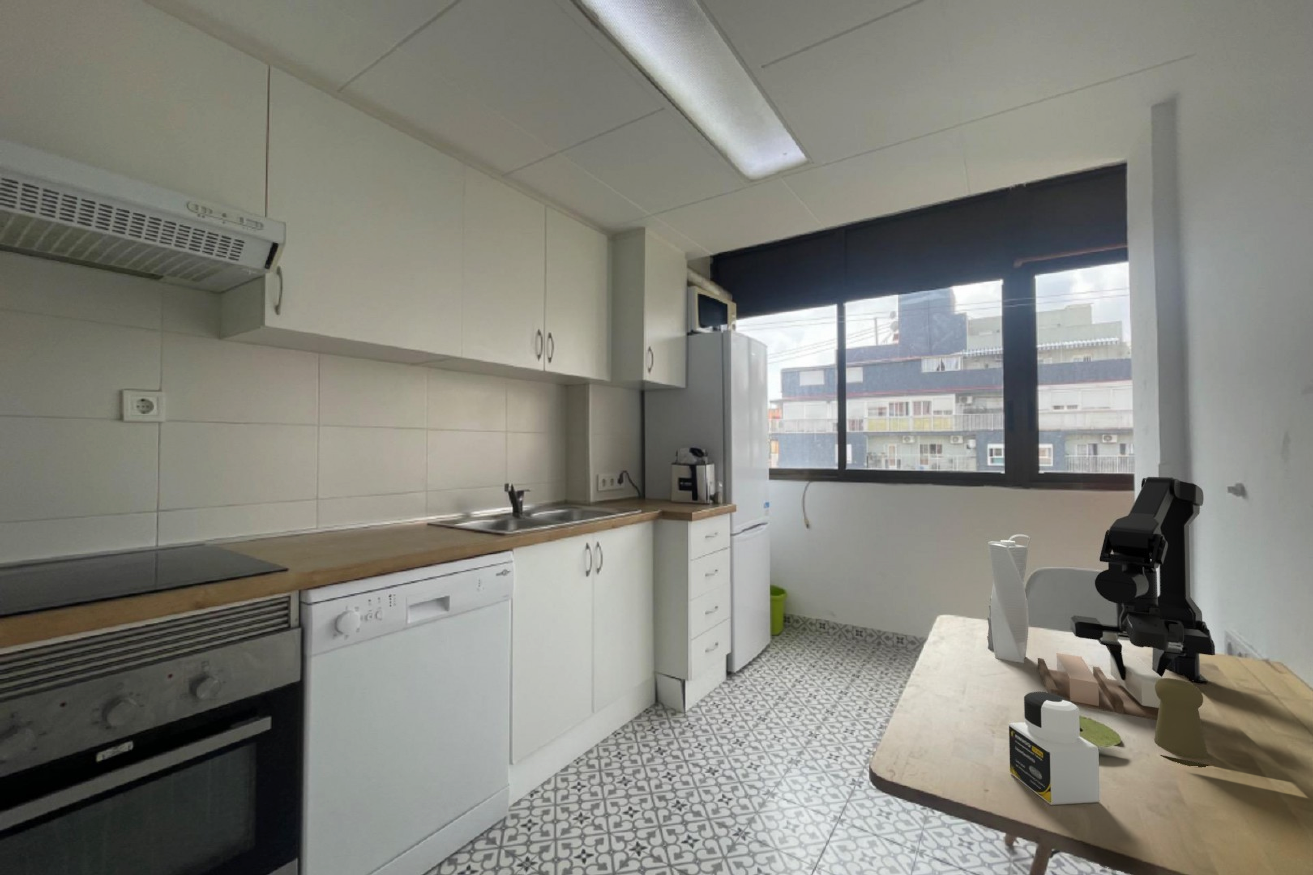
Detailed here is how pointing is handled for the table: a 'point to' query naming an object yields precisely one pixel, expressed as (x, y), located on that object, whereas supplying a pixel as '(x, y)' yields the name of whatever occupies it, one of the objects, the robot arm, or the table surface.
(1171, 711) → the cork
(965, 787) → the table surface
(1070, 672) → the light brown wooden block
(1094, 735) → the mat
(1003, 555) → the skyscraper
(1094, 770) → the medicine bottle
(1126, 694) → the drying rack
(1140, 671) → the clay strip
